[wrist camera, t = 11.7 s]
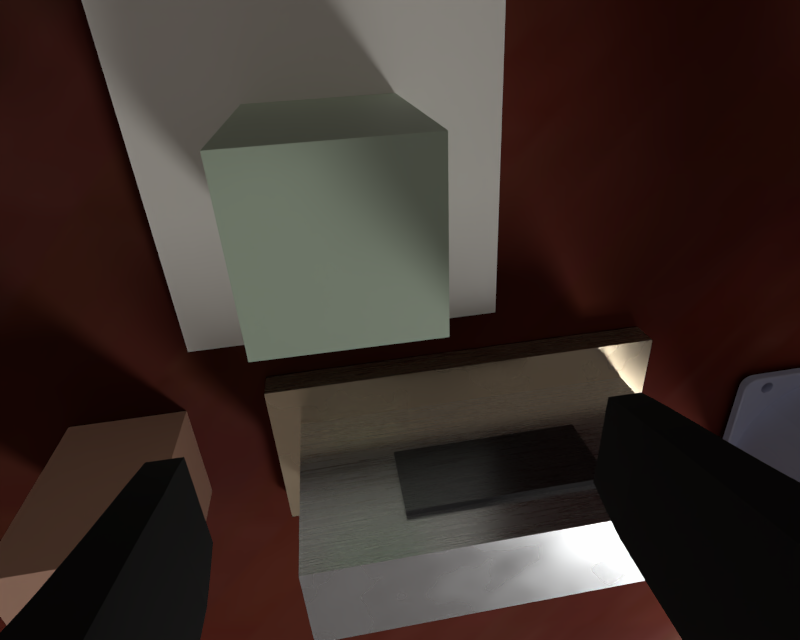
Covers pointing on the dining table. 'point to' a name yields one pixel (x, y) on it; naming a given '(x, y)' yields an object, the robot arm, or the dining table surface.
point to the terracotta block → (86, 494)
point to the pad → (297, 80)
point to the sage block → (332, 223)
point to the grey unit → (452, 479)
